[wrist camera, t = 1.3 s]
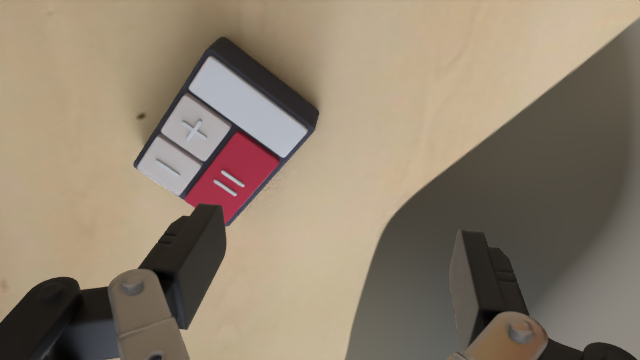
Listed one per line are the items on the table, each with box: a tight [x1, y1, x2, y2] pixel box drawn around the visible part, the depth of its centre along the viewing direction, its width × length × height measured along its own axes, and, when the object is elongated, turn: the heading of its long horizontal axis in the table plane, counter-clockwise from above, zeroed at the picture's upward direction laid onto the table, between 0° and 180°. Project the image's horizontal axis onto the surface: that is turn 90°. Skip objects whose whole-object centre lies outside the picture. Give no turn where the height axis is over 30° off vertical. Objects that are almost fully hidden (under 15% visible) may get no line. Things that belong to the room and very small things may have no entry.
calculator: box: [133, 37, 319, 226], centre depth 42 cm, size 11×4×15 cm
